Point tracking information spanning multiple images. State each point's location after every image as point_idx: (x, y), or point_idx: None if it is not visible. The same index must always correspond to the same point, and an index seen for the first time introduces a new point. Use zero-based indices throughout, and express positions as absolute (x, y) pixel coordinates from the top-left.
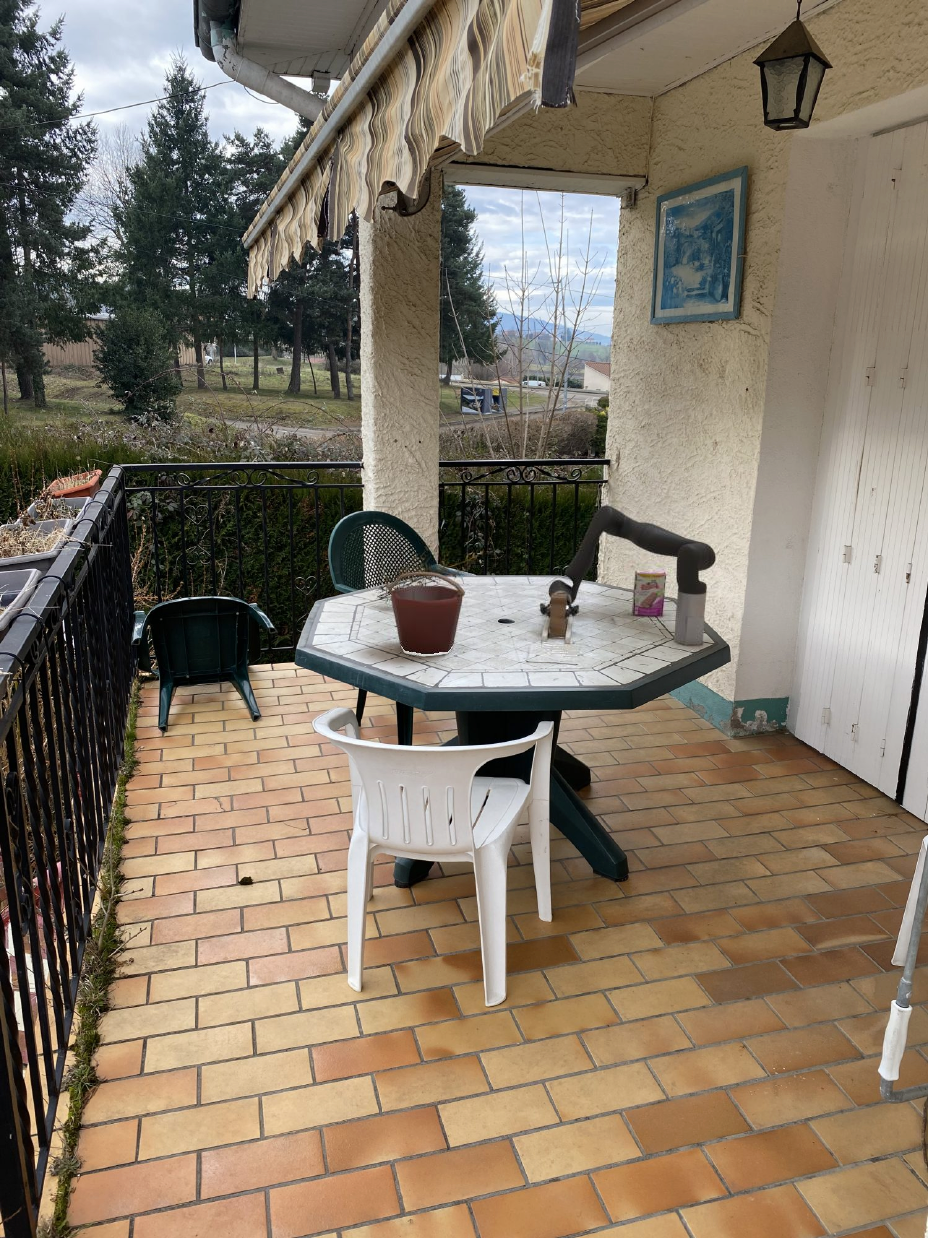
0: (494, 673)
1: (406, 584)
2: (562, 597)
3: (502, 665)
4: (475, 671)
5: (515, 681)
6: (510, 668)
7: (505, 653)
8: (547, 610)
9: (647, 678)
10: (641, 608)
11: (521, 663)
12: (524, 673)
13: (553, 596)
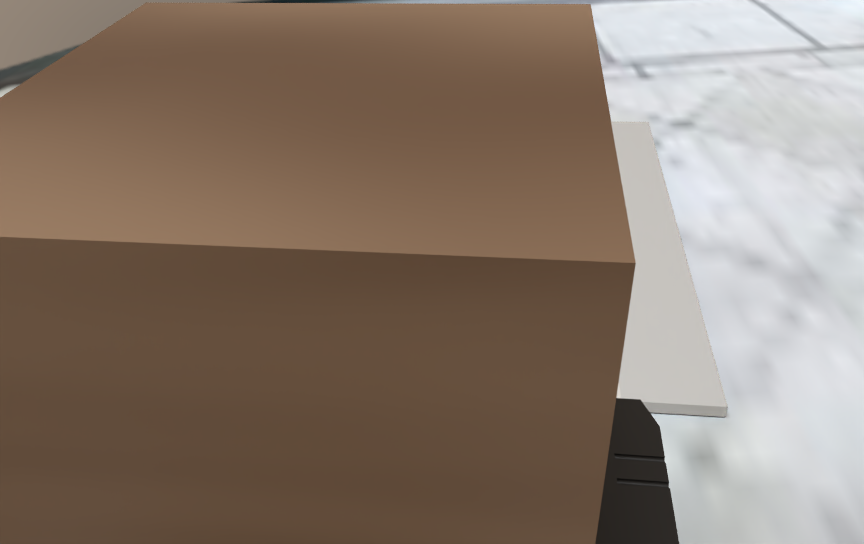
0: (759, 47)
1: None
2: (232, 15)
3: (765, 95)
4: (861, 52)
5: (638, 18)
6: (706, 78)
7: (847, 210)
8: (662, 529)
9: (55, 61)
10: None
11: (668, 116)
12: (619, 55)
13: (516, 42)
